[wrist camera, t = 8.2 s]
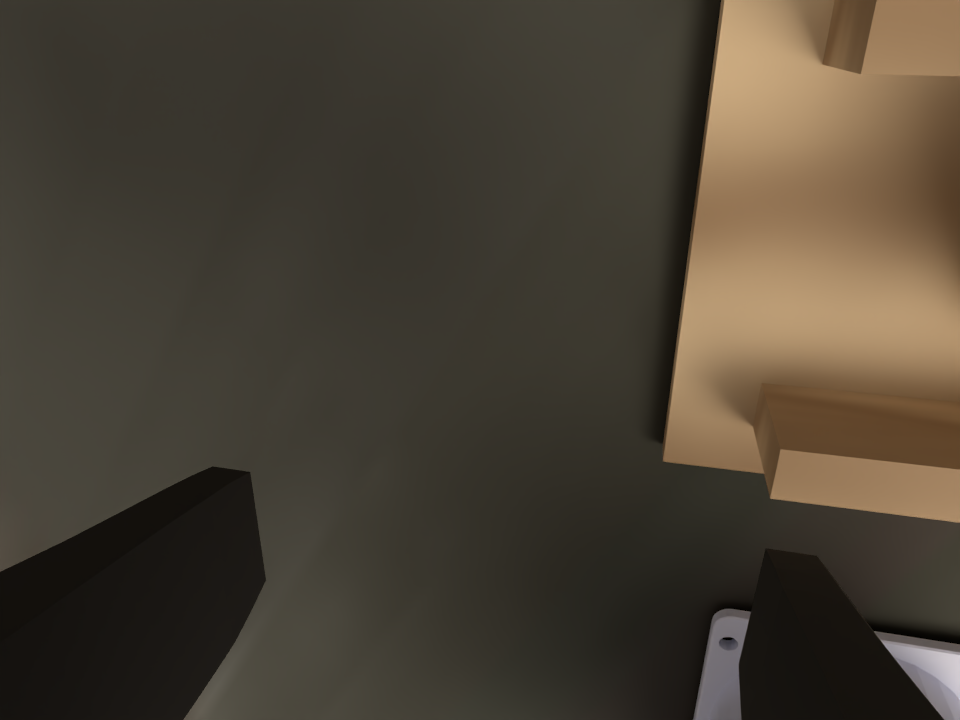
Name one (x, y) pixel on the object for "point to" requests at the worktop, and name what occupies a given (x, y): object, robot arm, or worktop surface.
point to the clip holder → (827, 257)
